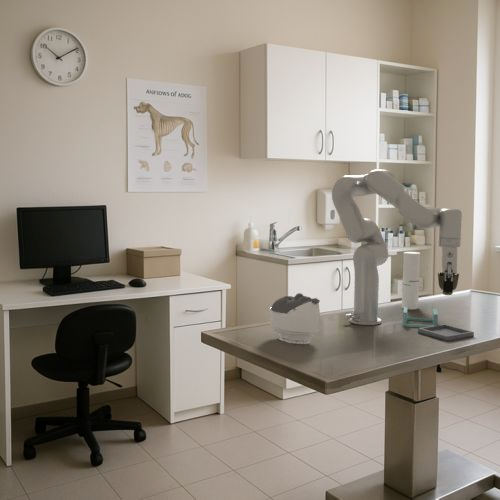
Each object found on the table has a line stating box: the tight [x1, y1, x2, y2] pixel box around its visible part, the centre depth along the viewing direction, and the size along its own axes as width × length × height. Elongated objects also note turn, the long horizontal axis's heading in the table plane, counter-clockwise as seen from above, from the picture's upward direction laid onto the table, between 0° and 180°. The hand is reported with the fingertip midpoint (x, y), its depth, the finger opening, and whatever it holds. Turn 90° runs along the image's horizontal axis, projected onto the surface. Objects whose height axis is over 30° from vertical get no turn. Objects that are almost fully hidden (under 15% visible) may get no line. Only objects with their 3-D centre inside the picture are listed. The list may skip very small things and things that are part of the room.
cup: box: [437, 271, 460, 296], centre depth 225 cm, size 8×7×8 cm
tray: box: [417, 323, 475, 342], centre depth 228 cm, size 14×14×2 cm
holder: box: [402, 307, 439, 328], centre depth 244 cm, size 12×13×6 cm
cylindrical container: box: [401, 251, 421, 310], centre depth 274 cm, size 7×7×25 cm
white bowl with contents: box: [269, 292, 321, 345], centre depth 217 cm, size 13×17×20 cm
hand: (447, 289), depth 226 cm, fingers closed on cup, 7 cm apart
